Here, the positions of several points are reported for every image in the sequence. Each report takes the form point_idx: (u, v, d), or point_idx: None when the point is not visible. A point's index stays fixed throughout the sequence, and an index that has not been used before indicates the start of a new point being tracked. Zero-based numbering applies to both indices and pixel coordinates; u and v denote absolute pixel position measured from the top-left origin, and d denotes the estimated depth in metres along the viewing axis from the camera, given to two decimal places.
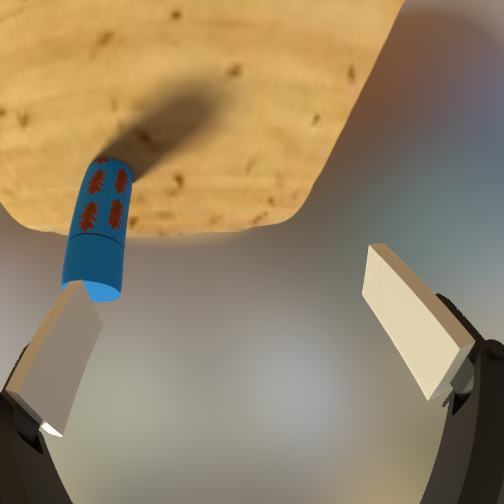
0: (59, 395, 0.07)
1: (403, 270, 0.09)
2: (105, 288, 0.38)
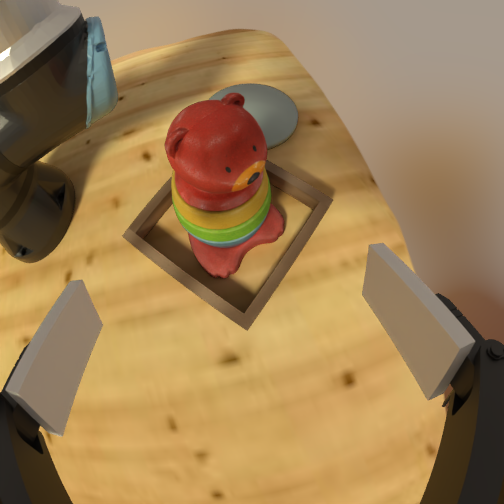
0: (59, 395, 0.07)
1: (403, 270, 0.09)
2: None
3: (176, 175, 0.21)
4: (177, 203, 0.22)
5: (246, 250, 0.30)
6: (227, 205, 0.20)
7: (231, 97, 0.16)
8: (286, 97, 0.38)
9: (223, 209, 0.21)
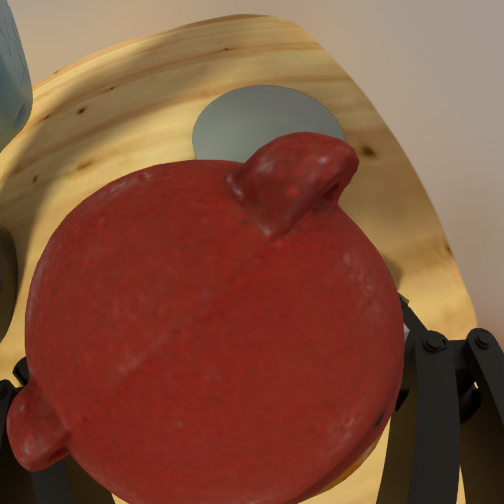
0: None
1: None
2: None
3: None
4: None
5: None
6: None
7: (312, 182, 0.02)
8: (324, 109, 0.24)
9: None
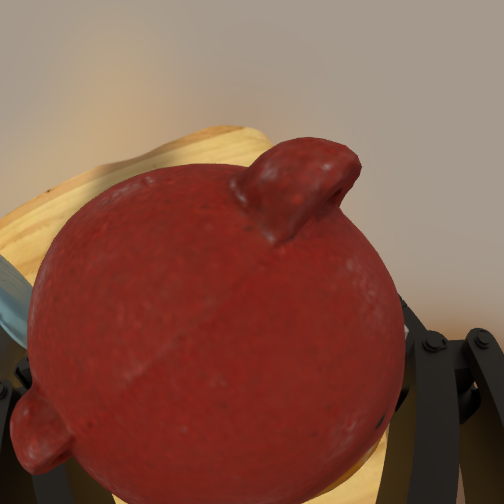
0: None
1: None
2: None
3: None
4: None
5: None
6: None
7: (316, 190, 0.02)
8: None
9: None
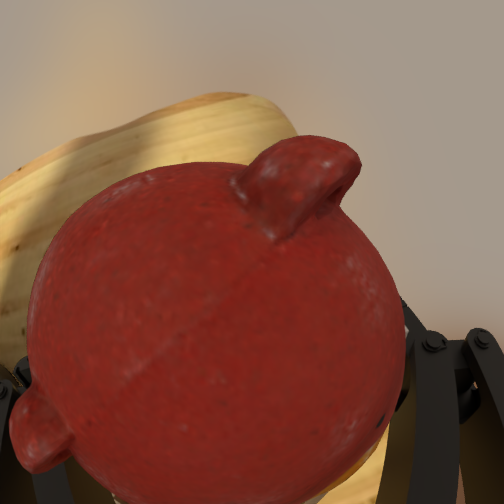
0: None
1: None
2: None
3: None
4: None
5: None
6: None
7: (316, 187, 0.02)
8: None
9: None
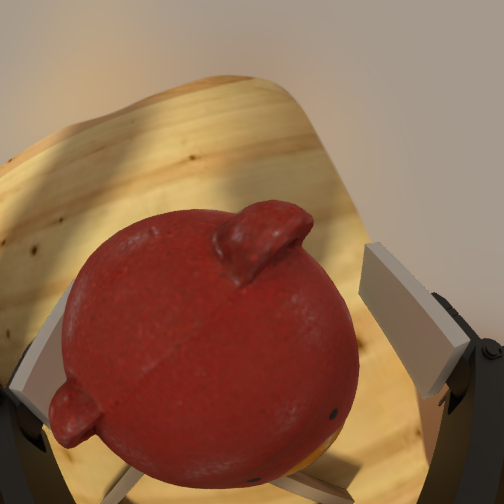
0: None
1: (399, 269, 0.09)
2: None
3: None
4: None
5: None
6: None
7: (267, 251, 0.04)
8: None
9: None
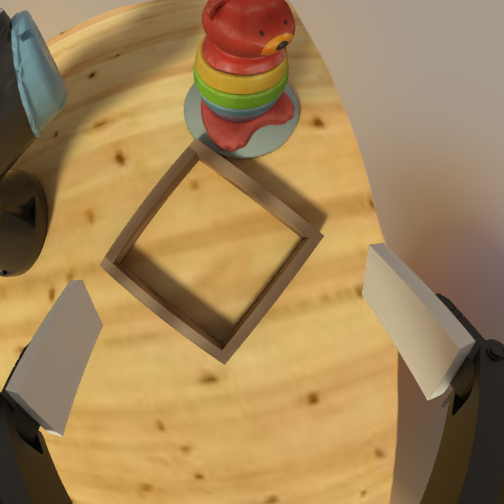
0: (59, 395, 0.07)
1: (403, 270, 0.09)
2: None
3: (204, 44, 0.18)
4: (201, 69, 0.20)
5: (256, 127, 0.29)
6: (252, 70, 0.18)
7: None
8: (287, 86, 0.30)
9: (247, 73, 0.19)
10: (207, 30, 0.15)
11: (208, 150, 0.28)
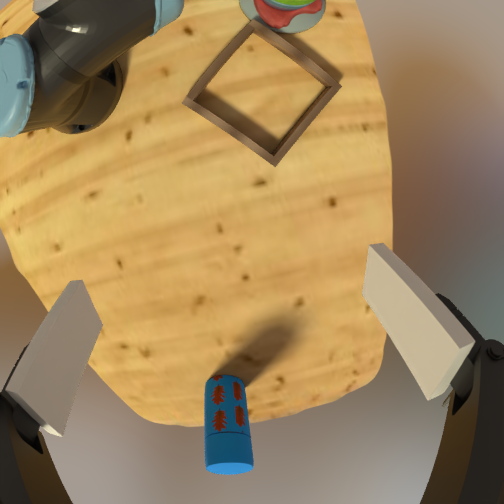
0: (59, 395, 0.07)
1: (403, 270, 0.09)
2: (241, 465, 0.45)
3: None
4: None
5: (296, 14, 0.30)
6: None
7: None
8: None
9: None
10: None
11: (263, 27, 0.30)
